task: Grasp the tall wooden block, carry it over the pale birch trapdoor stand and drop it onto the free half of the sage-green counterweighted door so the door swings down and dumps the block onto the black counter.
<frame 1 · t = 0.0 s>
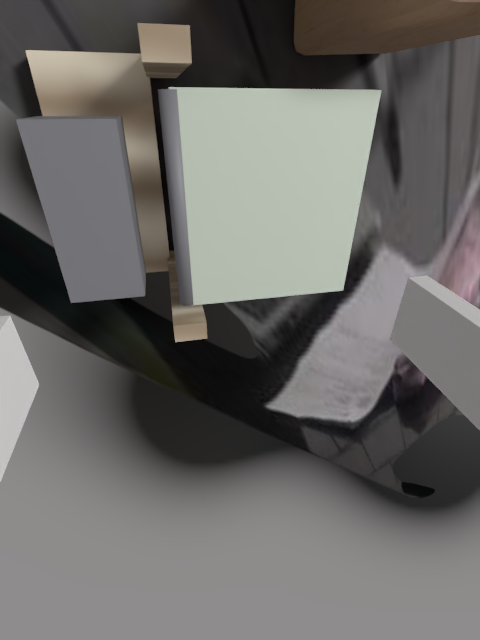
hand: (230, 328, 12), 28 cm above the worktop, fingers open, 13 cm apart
trapdoor: (214, 207, 24), point 13 cm above the worktop, hinge at 0.0°
trapdoor frame: (170, 175, 34), on the worktop
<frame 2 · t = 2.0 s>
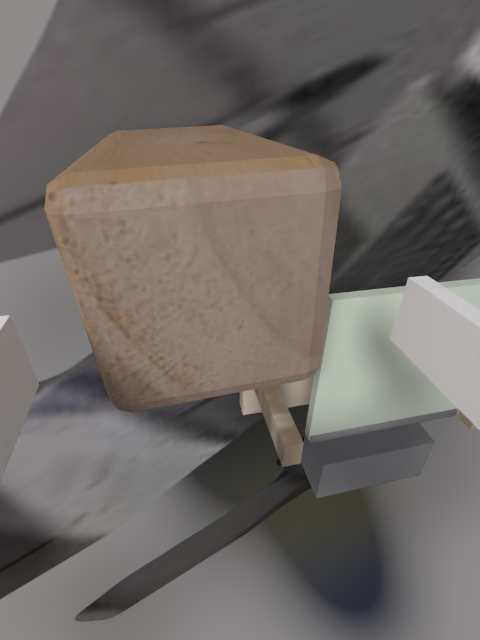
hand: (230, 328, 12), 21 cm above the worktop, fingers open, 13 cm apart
trapdoor: (383, 392, 29), point 13 cm above the worktop, hinge at 0.0°
trapdoor frame: (317, 331, 41), on the worktop
wooden block: (178, 193, 30), on the worktop
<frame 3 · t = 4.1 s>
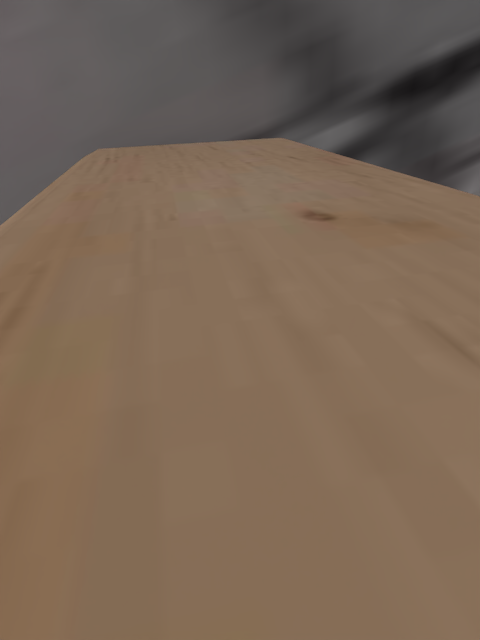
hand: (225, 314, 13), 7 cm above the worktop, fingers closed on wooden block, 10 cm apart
wooden block: (201, 243, 19), on the worktop, touching gripper
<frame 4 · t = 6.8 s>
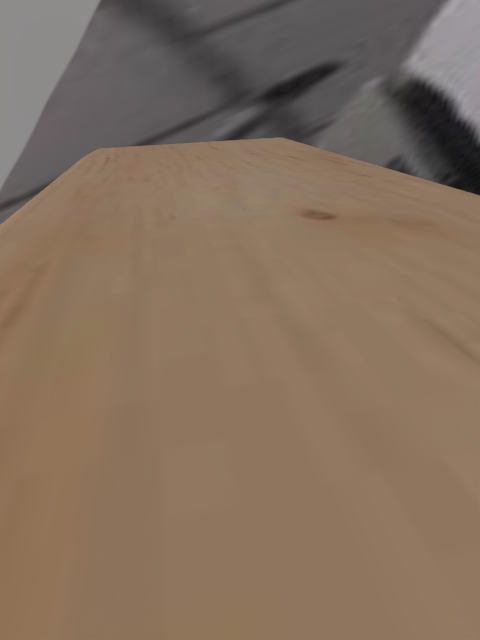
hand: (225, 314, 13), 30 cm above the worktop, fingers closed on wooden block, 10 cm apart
wooden block: (201, 243, 19), point 22 cm above the worktop, touching gripper
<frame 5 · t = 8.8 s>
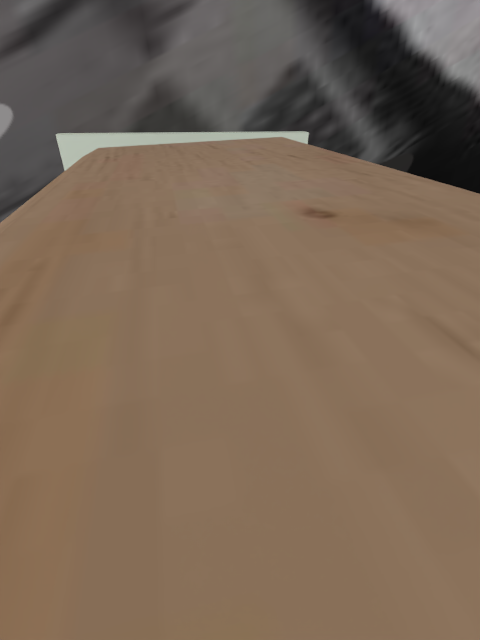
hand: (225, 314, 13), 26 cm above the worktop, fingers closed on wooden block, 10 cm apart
trapdoor: (198, 289, 26), point 13 cm above the worktop, hinge at 0.0°
wooden block: (201, 242, 19), point 18 cm above the worktop, touching gripper
when the fingers open (26 cm above the worktop, at t = 9.5 s): wooden block drops 13 cm, point 5 cm above the worktop.
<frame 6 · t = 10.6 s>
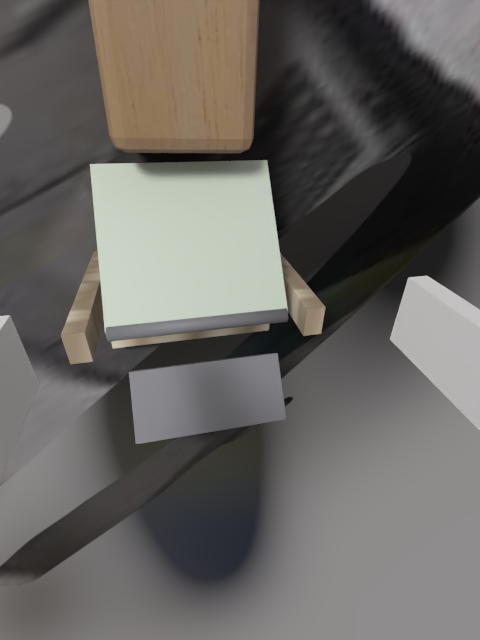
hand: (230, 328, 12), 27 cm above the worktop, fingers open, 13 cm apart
trapdoor: (196, 294, 28), point 12 cm above the worktop, hinge at -38.6°
trapdoor frame: (186, 255, 38), on the worktop
wooden block: (181, 149, 28), point 5 cm above the worktop
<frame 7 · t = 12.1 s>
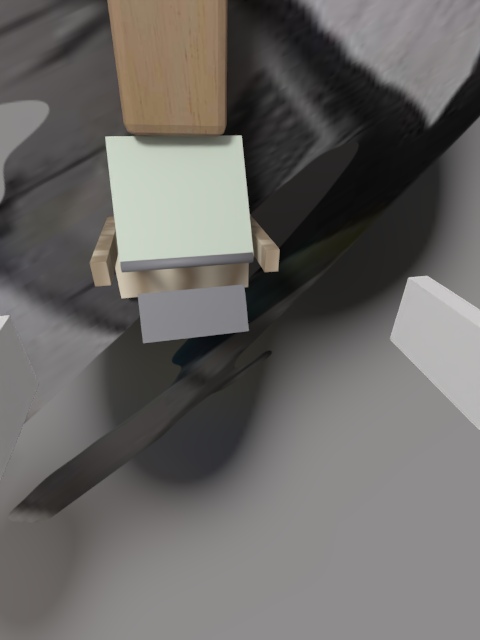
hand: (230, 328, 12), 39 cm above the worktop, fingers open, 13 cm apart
trapdoor: (186, 240, 37), point 12 cm above the worktop, hinge at -31.5°, touching wooden block
trapdoor frame: (180, 222, 48), on the worktop
wooden block: (175, 134, 38), point 5 cm above the worktop, touching trapdoor
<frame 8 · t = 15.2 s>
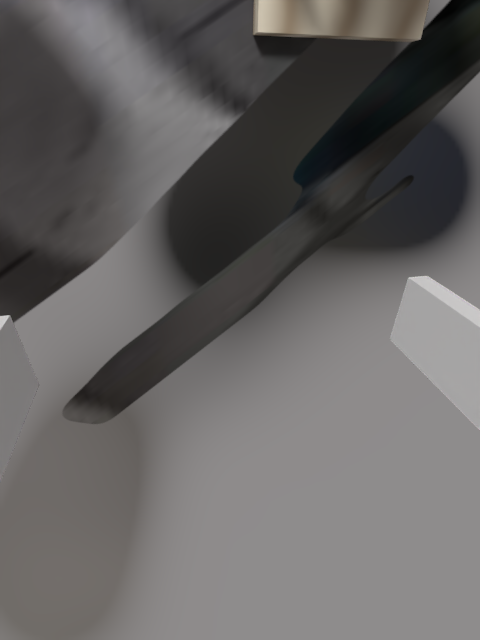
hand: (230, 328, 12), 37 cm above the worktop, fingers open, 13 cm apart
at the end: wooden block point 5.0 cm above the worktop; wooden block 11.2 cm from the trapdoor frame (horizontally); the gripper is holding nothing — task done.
